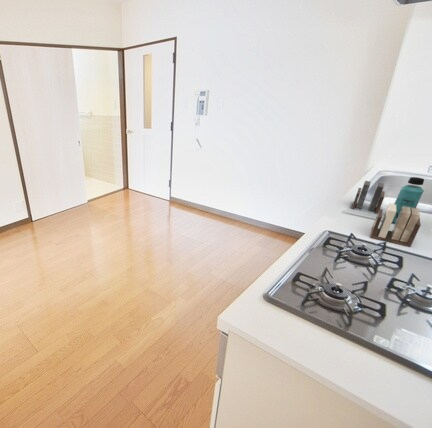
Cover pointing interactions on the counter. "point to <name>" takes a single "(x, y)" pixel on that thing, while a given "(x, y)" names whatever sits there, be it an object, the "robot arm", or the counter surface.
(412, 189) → the beverage bottle
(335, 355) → the counter surface
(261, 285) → the counter surface
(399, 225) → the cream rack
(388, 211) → the cream book
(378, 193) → the grey rack
